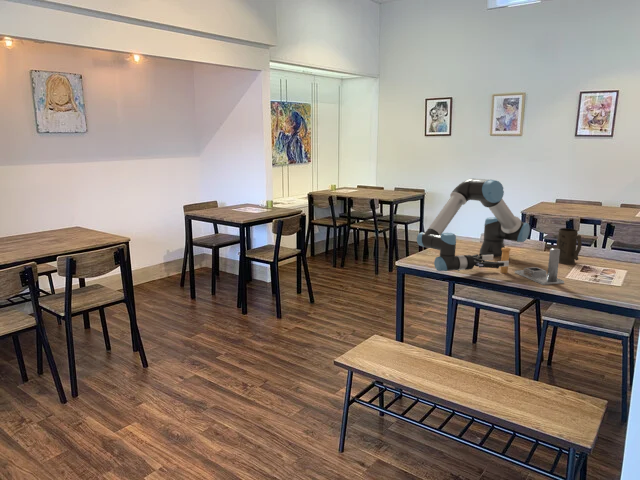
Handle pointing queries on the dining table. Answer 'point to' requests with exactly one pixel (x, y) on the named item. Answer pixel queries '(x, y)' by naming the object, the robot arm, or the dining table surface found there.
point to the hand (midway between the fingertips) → (500, 260)
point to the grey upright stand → (540, 274)
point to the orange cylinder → (505, 259)
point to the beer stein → (568, 245)
